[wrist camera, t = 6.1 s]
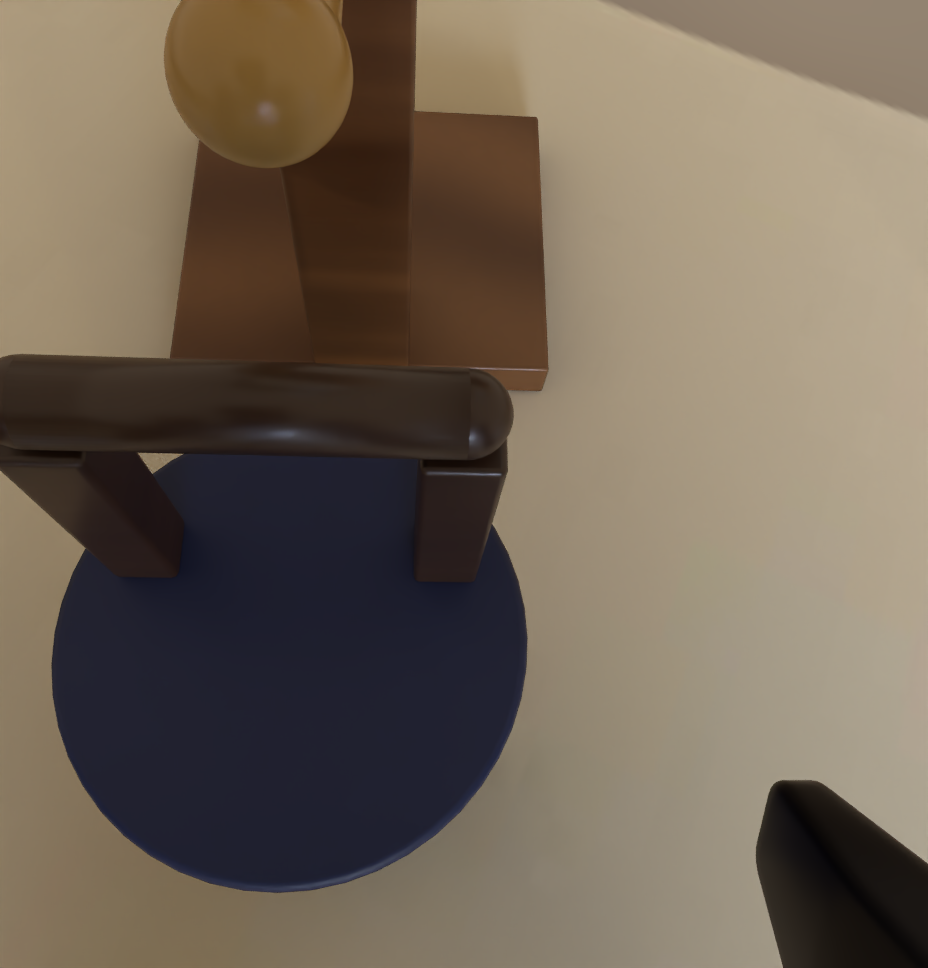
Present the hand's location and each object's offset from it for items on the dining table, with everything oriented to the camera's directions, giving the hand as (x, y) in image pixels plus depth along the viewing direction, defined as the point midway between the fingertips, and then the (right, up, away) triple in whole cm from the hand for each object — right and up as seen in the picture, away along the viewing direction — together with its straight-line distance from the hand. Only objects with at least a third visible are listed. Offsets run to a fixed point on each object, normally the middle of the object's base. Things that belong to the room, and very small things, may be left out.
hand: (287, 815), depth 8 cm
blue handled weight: (-1, -2, +9) cm, 9 cm away
